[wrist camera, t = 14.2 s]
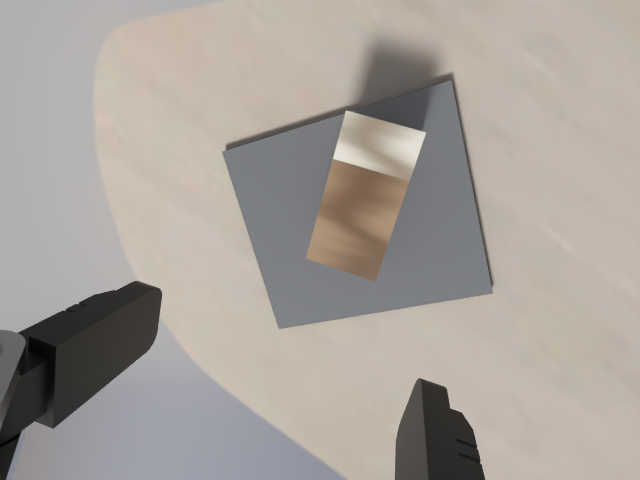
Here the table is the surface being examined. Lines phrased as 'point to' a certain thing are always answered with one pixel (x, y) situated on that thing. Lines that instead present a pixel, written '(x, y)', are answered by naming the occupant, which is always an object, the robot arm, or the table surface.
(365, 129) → the cream and brown block
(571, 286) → the table surface
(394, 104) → the charcoal mat
